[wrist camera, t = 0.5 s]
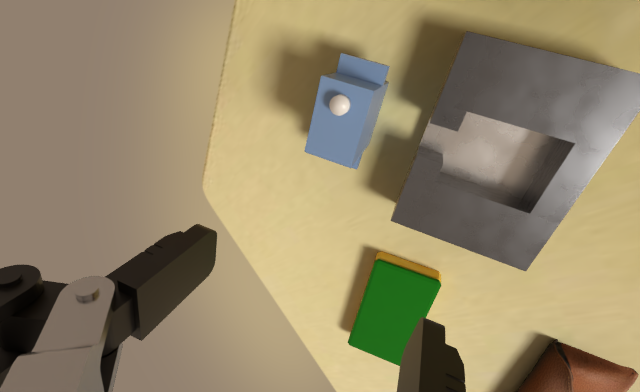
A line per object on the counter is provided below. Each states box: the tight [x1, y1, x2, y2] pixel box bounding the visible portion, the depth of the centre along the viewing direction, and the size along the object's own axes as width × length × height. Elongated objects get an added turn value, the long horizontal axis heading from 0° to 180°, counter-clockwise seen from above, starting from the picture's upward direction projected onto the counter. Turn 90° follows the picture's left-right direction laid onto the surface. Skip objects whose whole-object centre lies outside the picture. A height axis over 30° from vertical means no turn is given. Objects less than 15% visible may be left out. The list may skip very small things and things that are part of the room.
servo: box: [305, 53, 390, 169], centre depth 27 cm, size 4×9×8 cm, turn 166°
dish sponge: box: [348, 251, 441, 366], centre depth 38 cm, size 7×14×2 cm, turn 169°
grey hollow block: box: [391, 31, 640, 271], centre depth 26 cm, size 16×12×4 cm
